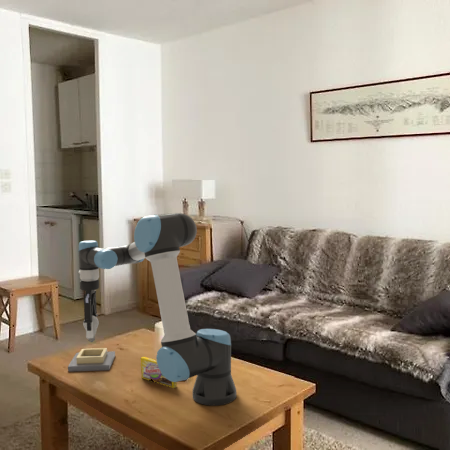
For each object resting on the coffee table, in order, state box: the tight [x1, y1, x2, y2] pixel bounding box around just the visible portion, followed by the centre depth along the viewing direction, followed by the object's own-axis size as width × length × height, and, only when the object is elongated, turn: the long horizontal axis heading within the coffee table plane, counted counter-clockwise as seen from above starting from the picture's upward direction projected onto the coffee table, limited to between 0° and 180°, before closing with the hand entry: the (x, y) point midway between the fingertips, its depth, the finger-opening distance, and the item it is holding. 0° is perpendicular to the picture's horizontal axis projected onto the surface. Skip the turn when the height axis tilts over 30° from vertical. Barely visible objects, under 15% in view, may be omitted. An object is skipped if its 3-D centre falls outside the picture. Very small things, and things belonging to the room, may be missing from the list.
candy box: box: [140, 356, 178, 389], centre depth 193 cm, size 16×2×8 cm, turn 54°
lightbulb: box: [82, 315, 99, 343], centre depth 212 cm, size 6×6×11 cm
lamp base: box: [67, 347, 116, 372], centre depth 213 cm, size 16×16×4 cm
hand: (91, 335), depth 212 cm, fingers closed on lightbulb, 6 cm apart
